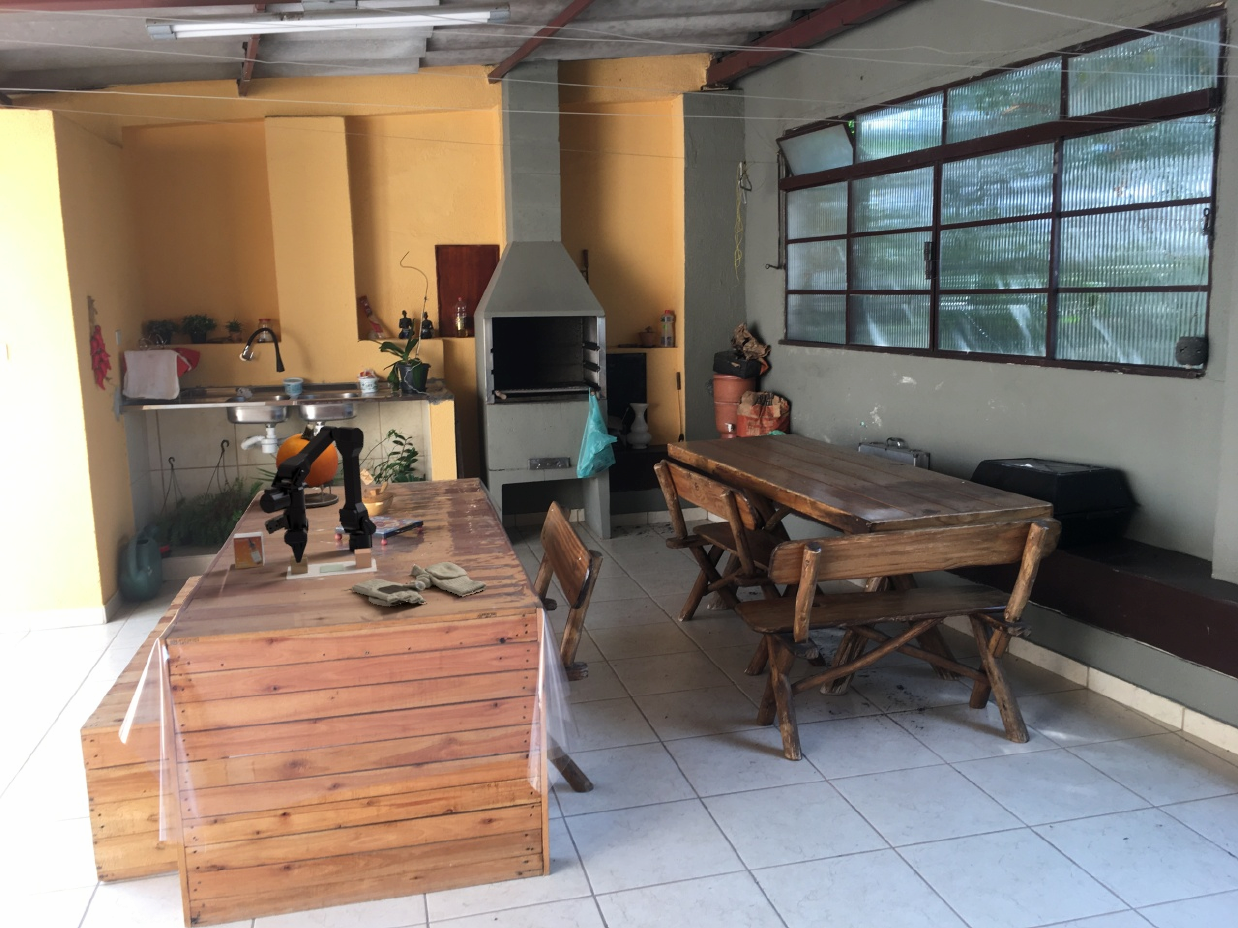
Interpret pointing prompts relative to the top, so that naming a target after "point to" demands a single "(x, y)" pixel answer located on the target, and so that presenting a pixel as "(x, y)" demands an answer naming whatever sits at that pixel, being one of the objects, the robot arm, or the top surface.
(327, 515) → the top surface
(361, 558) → the terracotta block
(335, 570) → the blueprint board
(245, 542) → the small box
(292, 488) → the robot arm
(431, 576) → the pair of gloves
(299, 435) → the pumpkin
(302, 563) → the walnut block
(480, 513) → the top surface
